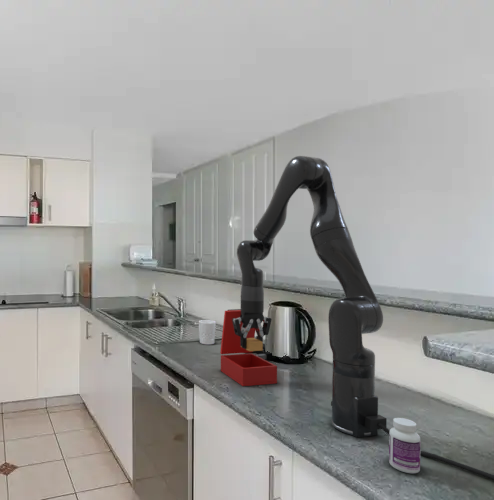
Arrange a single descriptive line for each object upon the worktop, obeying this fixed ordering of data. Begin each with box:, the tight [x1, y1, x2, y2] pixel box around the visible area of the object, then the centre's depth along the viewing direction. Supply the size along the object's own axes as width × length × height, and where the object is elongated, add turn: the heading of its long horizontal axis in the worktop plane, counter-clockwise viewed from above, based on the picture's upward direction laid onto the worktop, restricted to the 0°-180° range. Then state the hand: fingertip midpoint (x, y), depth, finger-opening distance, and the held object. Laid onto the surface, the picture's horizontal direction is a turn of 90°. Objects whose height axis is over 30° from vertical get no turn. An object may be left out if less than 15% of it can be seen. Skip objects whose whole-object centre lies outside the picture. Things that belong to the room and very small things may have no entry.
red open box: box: [220, 352, 278, 387], centre depth 138 cm, size 16×13×6 cm
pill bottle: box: [388, 417, 422, 474], centre depth 83 cm, size 5×5×10 cm
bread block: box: [241, 337, 264, 351], centre depth 135 cm, size 6×5×3 cm
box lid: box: [219, 308, 256, 355], centre depth 145 cm, size 17×13×5 cm
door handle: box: [252, 343, 292, 363], centre depth 161 cm, size 3×20×16 cm
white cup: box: [198, 319, 217, 345], centre depth 184 cm, size 8×8×10 cm
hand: (251, 347), depth 135 cm, fingers closed on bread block, 5 cm apart
